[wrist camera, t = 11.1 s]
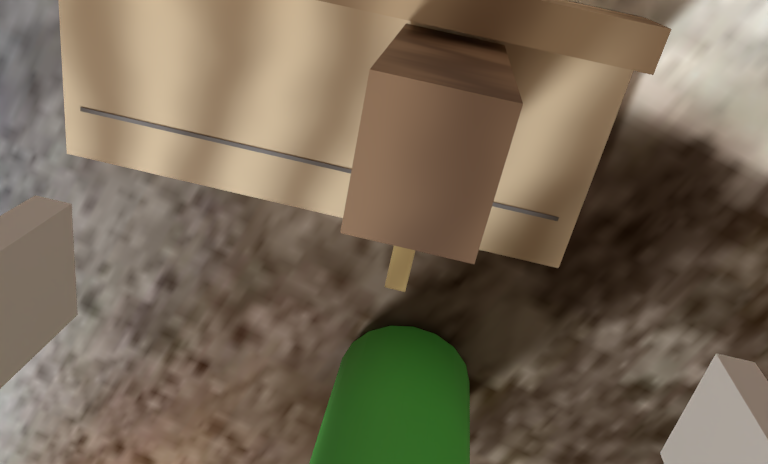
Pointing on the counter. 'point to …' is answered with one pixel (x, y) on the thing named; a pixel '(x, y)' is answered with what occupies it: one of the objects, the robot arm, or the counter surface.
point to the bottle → (397, 402)
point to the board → (340, 95)
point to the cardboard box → (431, 146)
